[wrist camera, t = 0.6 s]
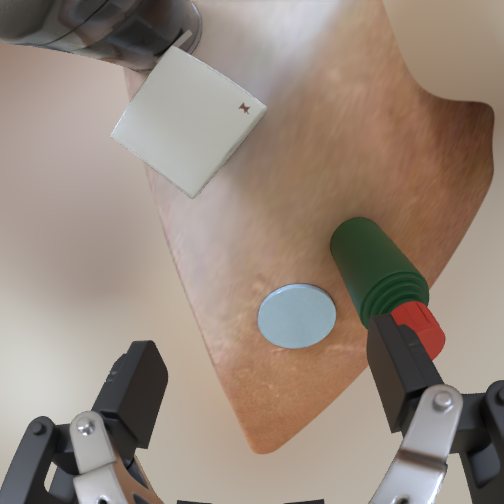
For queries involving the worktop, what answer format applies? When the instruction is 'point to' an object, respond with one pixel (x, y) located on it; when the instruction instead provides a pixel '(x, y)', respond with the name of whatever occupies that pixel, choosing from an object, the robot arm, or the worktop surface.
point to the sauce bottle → (375, 269)
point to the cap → (421, 325)
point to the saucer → (296, 316)
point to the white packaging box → (187, 120)
